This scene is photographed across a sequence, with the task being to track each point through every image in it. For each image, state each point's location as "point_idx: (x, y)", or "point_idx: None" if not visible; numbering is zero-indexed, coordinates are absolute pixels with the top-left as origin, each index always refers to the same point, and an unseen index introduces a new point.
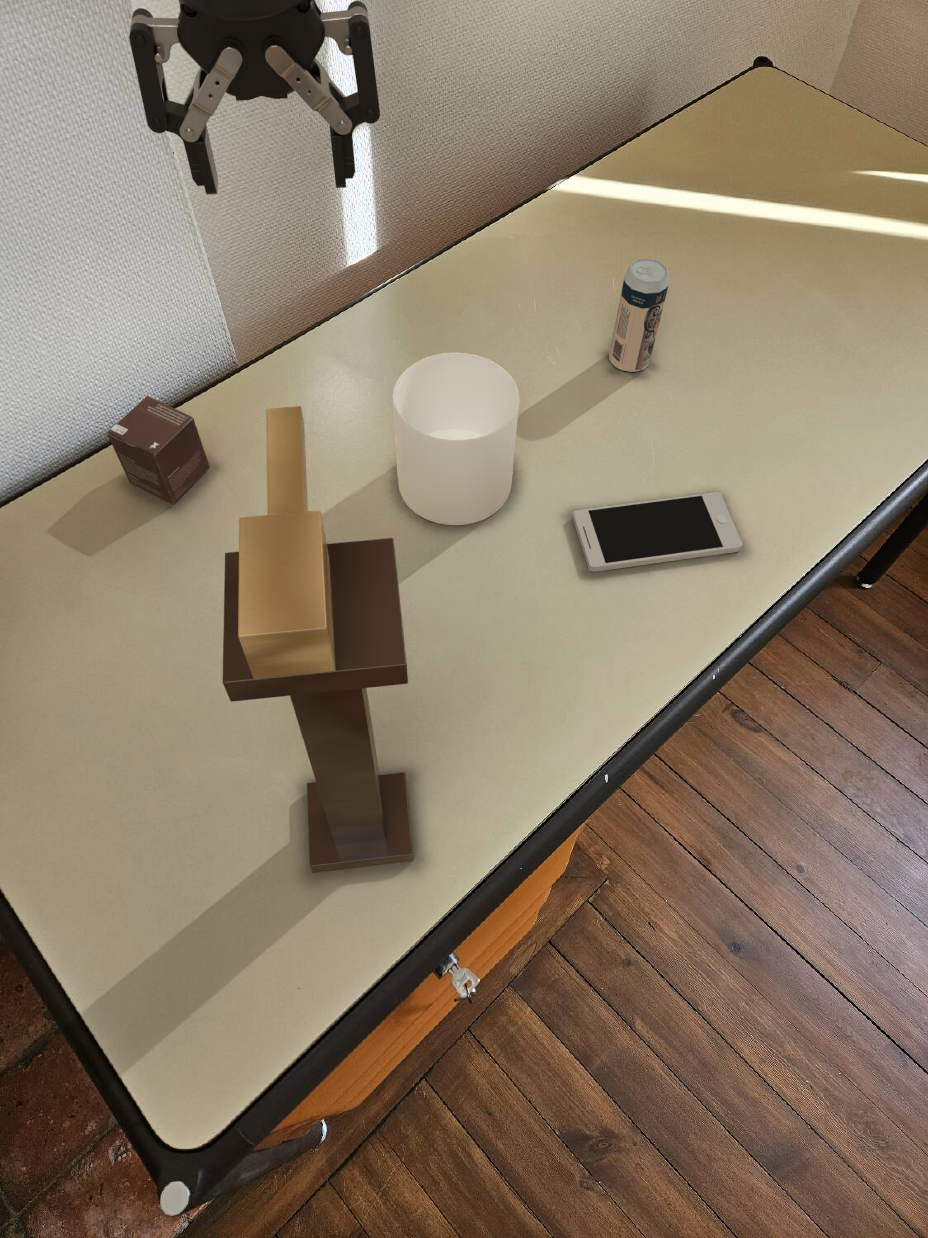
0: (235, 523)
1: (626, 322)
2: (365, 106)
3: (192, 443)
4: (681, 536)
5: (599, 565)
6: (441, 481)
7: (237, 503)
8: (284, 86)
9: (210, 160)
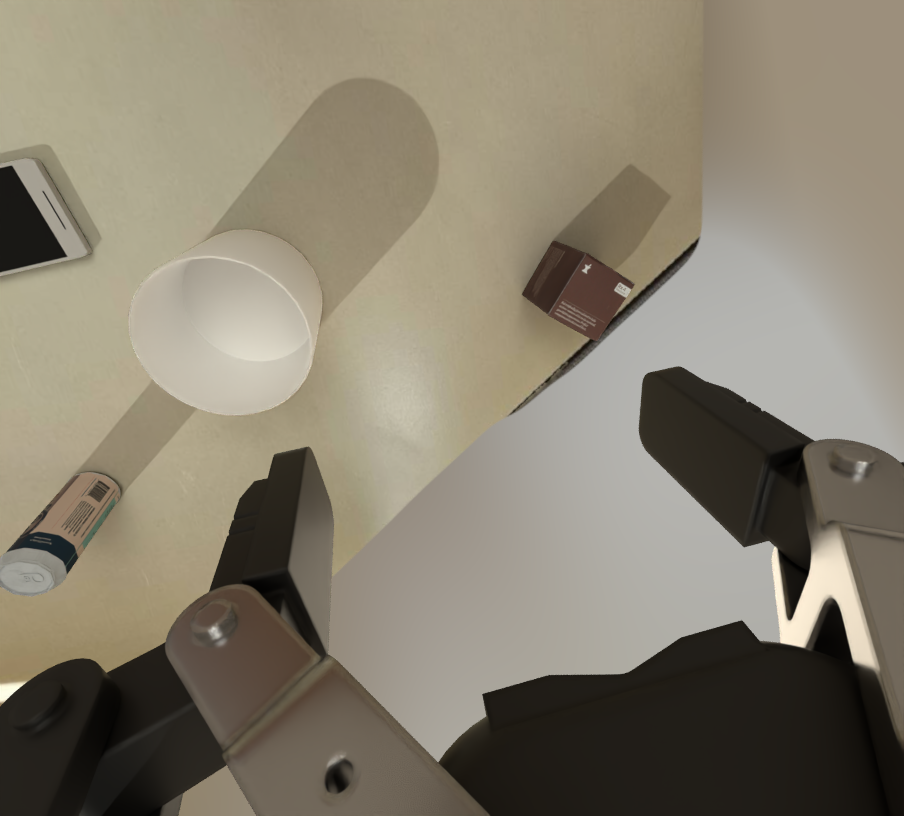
0: (488, 219)
1: (71, 516)
2: (42, 746)
3: (544, 294)
4: None
5: (19, 160)
6: (241, 241)
7: (489, 248)
8: (509, 765)
9: (703, 431)
